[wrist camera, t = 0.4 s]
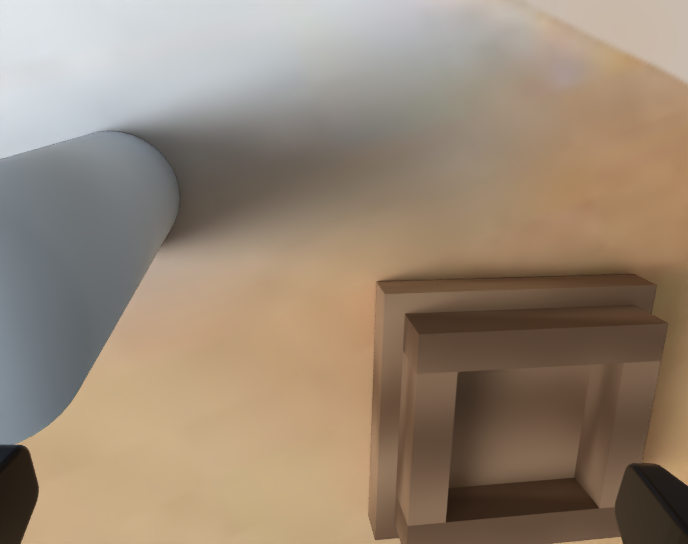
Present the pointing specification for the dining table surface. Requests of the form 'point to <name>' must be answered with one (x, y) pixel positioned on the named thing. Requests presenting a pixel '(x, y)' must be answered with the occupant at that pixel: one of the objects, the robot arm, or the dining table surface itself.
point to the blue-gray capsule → (72, 263)
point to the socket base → (509, 406)
